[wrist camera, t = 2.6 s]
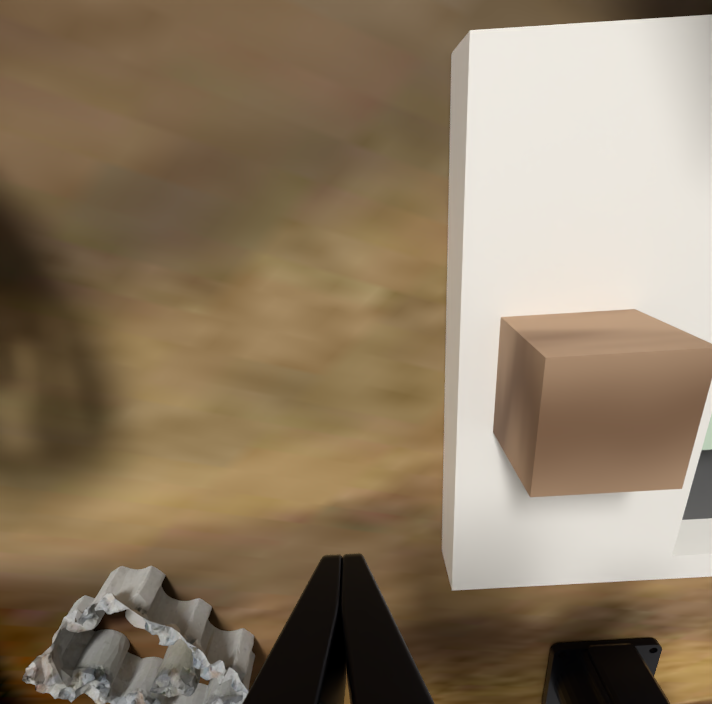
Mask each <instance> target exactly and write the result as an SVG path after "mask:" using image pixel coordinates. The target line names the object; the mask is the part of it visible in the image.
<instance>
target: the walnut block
mask: <svg viewBox="0 0 712 704" xmlns="http://www.w3.org/2000/svg"><path fill="white" fill-rule="evenodd" d="M711 380H712V344H711V343H709V342H707V341H705V340H703V339H700V338H698V337H696V336H694V335H691V334H689V333H687V332H685V331H683V330H680V329H678V328H676V327H674V326H671V325H669V324H667V323H665V322H663V321H660V320H658V319H656V318H654V317H652V316H649V315H647V314H645V313H643V312H640V311H638V310H636V309H627V310H610V311H594V312H577V313H560V314H543V315H527V316H510V317H501V320H500V335H499V349H498V364H497V379H496V393H495V408H494V423H493V433H494V435H495V437H496V438H497V440H498V442H499V444H500V445H501V447H502V449H503V451H504V452H505V454H506V456H507V458H508V459H509V461H510V463H511V465H512V466H513V468H514V470H515V472H516V473H517V475H518V477H519V479H520V480H521V482H522V484H523V486H524V488H525V489H526V491H527V493H528V495H529V496H530V497H546V496H564V495H582V494H599V493H617V492H635V491H653V490H670V489H682V487H683V484H684V480H685V476H686V473H687V469H688V465H689V461H690V458H691V454H692V450H693V447H694V443H695V439H696V436H697V432H698V428H699V425H700V421H701V417H702V413H703V410H704V406H705V402H706V399H707V395H708V391H709V388H710V384H711Z"/></svg>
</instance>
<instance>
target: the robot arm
mask: <svg viewBox="0 0 712 704" xmlns="http://www.w3.org/2000/svg"><path fill="white" fill-rule="evenodd" d="M661 651H662V647H661V646H660V644H659V643H658V641H657V640H656V639H653V638H646V639H628V640H609V641H590V642H571V643H558V644H555V645H553V646H552V647H551V650H550V657H549V663H548V669H547V675H546V682H545V688H544V694H543V701H542V704H670V702H669V700H668V699H667V697H666V696H665V694H664V692H663V691H662V689H661V687H660V686H659V684H658V683H657V681H656V679H655V678H654V674H655V671H656V668H657V664H658V661H659V658H660V654H661ZM346 667H347V677H348V687H349V696H350V704H434V702H433V699H432V697H431V695H430V693H429V691H428V689H427V687H426V685H425V683H424V681H423V679H422V677H421V675H420V673H419V670H418V668H417V666H416V664H415V662H414V660H413V658H412V656H411V654H410V652H409V650H408V648H407V646H406V644H405V642H404V639H403V637H402V635H401V633H400V631H399V629H398V627H397V625H396V623H395V621H394V619H393V617H392V615H391V613H390V610H389V608H388V606H387V604H386V602H385V600H384V598H383V596H382V594H381V592H380V590H379V588H378V586H377V584H376V581H375V579H374V577H373V575H372V573H371V571H370V569H369V567H368V565H367V563H366V561H365V559H364V557H363V555H362V554H345V555H344V556H343V558H342V556H341V555H325V556H323V557H322V559H321V560H320V562H319V564H318V566H317V567H316V569H315V571H314V573H313V575H312V577H311V578H310V580H309V582H308V584H307V586H306V588H305V589H304V591H303V593H302V595H301V597H300V599H299V600H298V602H297V604H296V606H295V608H294V610H293V611H292V613H291V615H290V617H289V619H288V621H287V622H286V624H285V626H284V628H283V630H282V632H281V633H280V635H279V637H278V639H277V641H276V643H275V644H274V646H273V648H272V650H271V652H270V654H269V655H268V657H267V659H266V661H265V663H264V665H263V666H262V668H261V670H260V672H259V674H258V676H257V677H256V679H255V681H254V683H253V685H252V687H251V688H250V690H249V692H248V694H247V696H246V698H245V699H244V701H243V703H242V704H344V696H345V684H346Z"/></svg>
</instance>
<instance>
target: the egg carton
mask: <svg viewBox="0 0 712 704" xmlns="http://www.w3.org/2000/svg"><path fill="white" fill-rule="evenodd" d="M165 576H166V575H165V574H164V573H163V572H161V571H160V570H158V569H157V568H155V567H153V566H149V567H147V568H145V569H140V570H136V569H130V568H127V567H124V566H120V567H118V568H117V569H116V570H114V571H112V572H111V574H110V575H109V577H108V578H107V580H106V581H105V583H104V585H103V586H102V588H101V590H100V591H99V593H98V595H97V596H96V598H92V597H89V596H86V595H85V596H83V597H81V598H80V599H79V600H77V601H76V602H75V604H74V605H73V607H72V609H71V610H70V612H69V613H68V615H67V616H65V617H64V619H63V621H62V624H61V626H60V628H59V629H58V631H57V632H56V633H55V634H54V636H53V638H52V645H51V647H50V648H48V649H47V650H46V651H45V652H44V653H43V654H42V655H40V656H37V658H36V659H35V660H34V661H33V662H32V663H31V664H30V665H29V666H28V667H27V668H26V672H25V674H24V676H23V680H22V681H24V682H26V683H31V684H34V685H35V690H36V691H39V692H41V693H50V694H51V695H52V696H53V697H54V699H56V698H61V699H68V700H69V701H70V702H72V701H73V700H74V699H76V698H77V697H78V696H79V695H81V694H83V693H85V694H86V695H88V696H89V697H91V698H92V699H93V700H94V702H95V703H97V704H105V703H106V702H109V703H111V704H242V703H243V701H244V699H245V698H246V696H247V694H248V690H249V683H250V678H251V673H252V667H253V662H254V659H255V654H254V653H253V652H252V647H253V644H254V635H253V634H251V633H250V632H249V631H247V630H245V629H244V628H242V629H239V630H235V631H223V630H220V629H217V628H216V627H214V626H213V625H212V624H211V623H210V622H209V620H208V618H209V615H210V612H211V609H212V606H211V605H209V604H208V603H206V602H205V601H203V600H202V599H200V598H198V599H194V600H191V601H179V600H176V599H173V598H171V597H169V596H168V595H167V594H166V593H165V592H164V590H163V589H162V582H163V580H164V578H165ZM123 610H126V612H125V616H126V618H127V620H128V621H129V622H130V623H131V624H132V625H133V626H135V627H138V628H142V629H145V630H147V631H148V632H150V633H151V634H152V635H155V634H157V635H159V639H160V642H159V645H164V646H168V649H167V651H166V654H165V656H164V659H161V658H158V657H147V658H143V659H142V658H140V657H138V656H135V655H133V654H131V653H129V652H128V649H129V647H130V643H129V640H128V639H127V637H126V636H125V635H124V634H122V633H120V632H118V631H115V630H110V629H104V630H98V631H96V632H95V631H93V630H92V629H94V628H95V627H96V626H97V625H98V624H99V623H100V621H101V619H102V617H103V616H104V614H105V612H106V613H107V614H112V613H114V612H120V611H123ZM200 676H201V677H202V678H203V679H205V680H210V681H209V685H205V684H201V683H199V680H200Z"/></svg>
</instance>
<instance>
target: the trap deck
mask: <svg viewBox="0 0 712 704" xmlns="http://www.w3.org/2000/svg"><path fill="white" fill-rule="evenodd" d="M627 309H636V310H638V311H640V312H643V313H645V314H647V315H649V316H652V317H654V318H656V319H658V320H660V321H663V322H665V323H667V324H669V325H671V326H674V327H676V328H678V329H680V330H683V331H685V332H687V333H689V334H691V335H694V336H696V337H698V338H700V339H703V340H705V341H707V342H709V343H711V344H712V15H698V16H682V17H667V18H652V19H636V20H621V21H606V22H591V23H575V24H560V25H545V26H530V27H514V28H499V29H484V30H470V31H469V32H468V33H467V35H466V36H465V37H464V38H463V40H462V41H461V42H460V43H459V45H458V46H457V47H456V48H455V50H454V51H453V52H452V54H451V105H450V156H449V207H448V257H447V308H446V359H445V410H444V461H443V512H442V553H443V557H444V561H445V565H446V569H447V573H448V577H449V581H450V585H451V589H452V591H453V590H471V589H489V588H508V587H526V586H544V585H563V584H581V583H599V582H618V581H636V580H654V579H673V578H691V577H709V576H712V380H711V384H710V388H709V391H708V395H707V399H706V402H705V406H704V410H703V413H702V417H701V421H700V425H699V428H698V432H697V436H696V439H695V443H694V447H693V450H692V454H691V458H690V461H689V465H688V469H687V473H686V476H685V480H684V484H683V487H682V489H670V490H653V491H635V492H617V493H599V494H582V495H564V496H546V497H530V496H529V495H528V493H527V491H526V489H525V488H524V486H523V484H522V482H521V480H520V479H519V477H518V475H517V473H516V472H515V470H514V468H513V466H512V465H511V463H510V461H509V459H508V458H507V456H506V454H505V452H504V451H503V449H502V447H501V445H500V444H499V442H498V440H497V438H496V437H495V435H494V433H493V423H494V408H495V393H496V379H497V364H498V349H499V335H500V320H501V317H510V316H527V315H543V314H560V313H577V312H594V311H610V310H627Z"/></svg>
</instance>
